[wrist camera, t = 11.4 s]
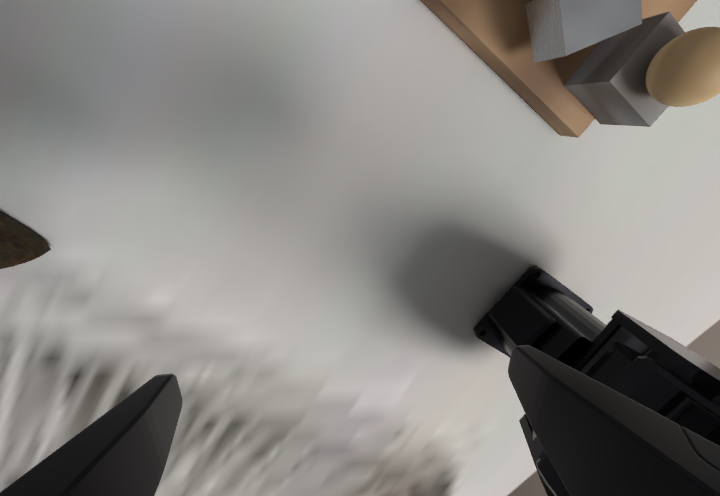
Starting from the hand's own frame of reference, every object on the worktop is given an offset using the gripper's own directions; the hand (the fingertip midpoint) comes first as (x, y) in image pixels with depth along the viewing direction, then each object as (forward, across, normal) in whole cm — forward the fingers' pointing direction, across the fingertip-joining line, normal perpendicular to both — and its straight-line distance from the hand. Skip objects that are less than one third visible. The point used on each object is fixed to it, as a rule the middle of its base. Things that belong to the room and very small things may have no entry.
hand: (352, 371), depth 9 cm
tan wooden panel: (+13, -11, -18) cm, 25 cm away
